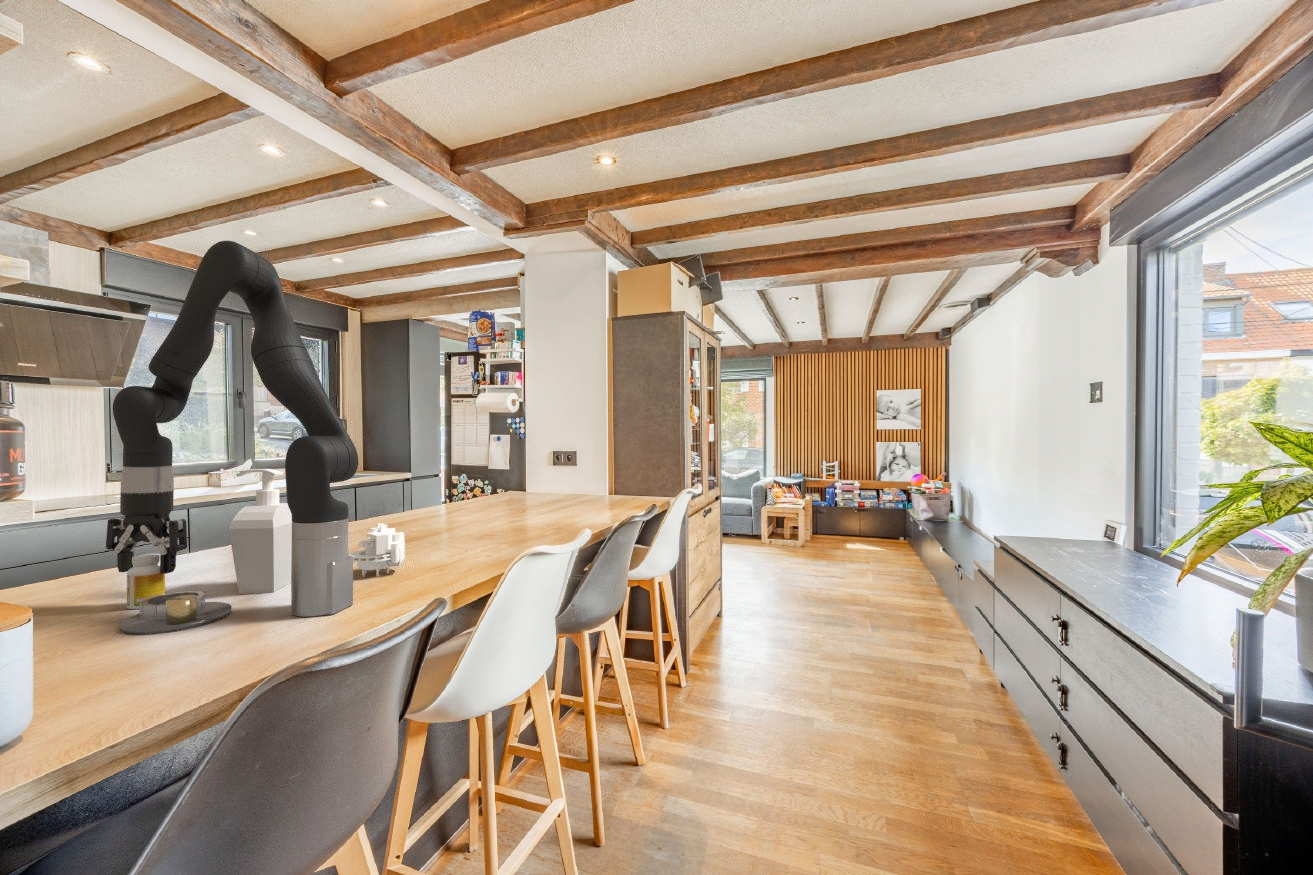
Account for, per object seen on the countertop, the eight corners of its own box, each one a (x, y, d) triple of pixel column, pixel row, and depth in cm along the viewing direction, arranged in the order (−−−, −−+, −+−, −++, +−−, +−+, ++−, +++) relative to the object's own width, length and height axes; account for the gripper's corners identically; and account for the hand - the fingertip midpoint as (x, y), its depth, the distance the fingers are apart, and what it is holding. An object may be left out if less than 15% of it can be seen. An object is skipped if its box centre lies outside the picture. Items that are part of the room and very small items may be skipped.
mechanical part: (353, 570, 131) (353, 522, 131) (406, 566, 136) (406, 520, 136) (344, 582, 121) (344, 530, 121) (402, 577, 125) (403, 527, 125)
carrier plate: (252, 606, 103) (252, 582, 103) (179, 635, 88) (179, 606, 88) (178, 604, 104) (178, 580, 104) (93, 633, 89) (93, 604, 89)
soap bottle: (253, 580, 121) (254, 467, 121) (302, 579, 123) (302, 467, 123) (218, 597, 109) (219, 471, 109) (273, 594, 111) (273, 471, 111)
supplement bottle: (172, 601, 106) (172, 552, 106) (144, 610, 101) (144, 559, 101) (148, 600, 107) (148, 552, 107) (118, 609, 101) (118, 558, 101)
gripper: (199, 488, 107) (198, 568, 107) (133, 486, 108) (131, 566, 108) (163, 492, 100) (162, 578, 100) (92, 490, 100) (90, 575, 101)
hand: (146, 572), depth 104 cm, fingers open, 8 cm apart
